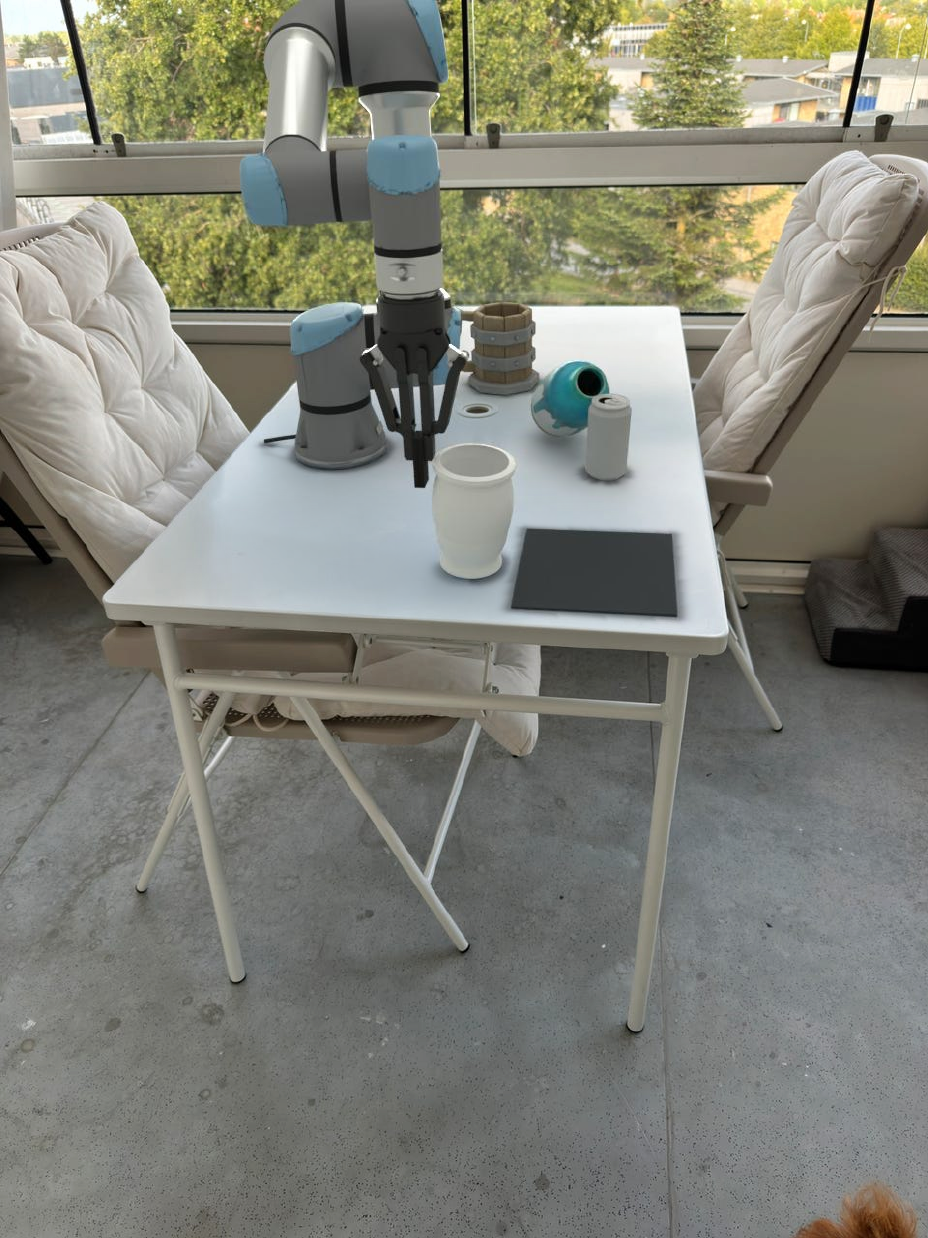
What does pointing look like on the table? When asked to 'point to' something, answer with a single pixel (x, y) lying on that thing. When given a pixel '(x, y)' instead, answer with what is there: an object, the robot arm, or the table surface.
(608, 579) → the mat
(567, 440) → the table surface
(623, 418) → the beverage can
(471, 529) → the jar
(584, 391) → the vase
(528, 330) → the tankard
